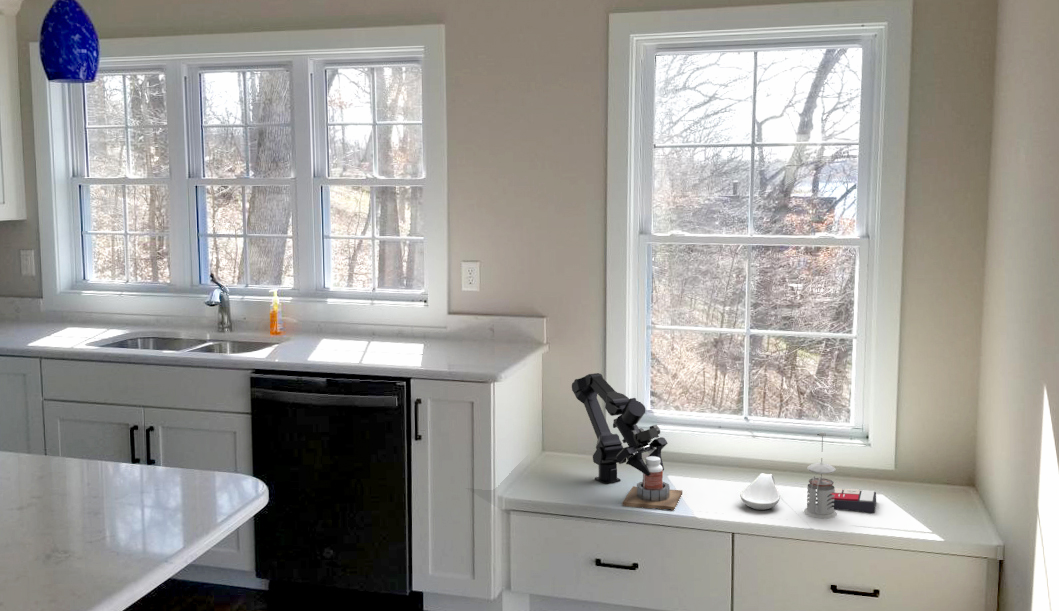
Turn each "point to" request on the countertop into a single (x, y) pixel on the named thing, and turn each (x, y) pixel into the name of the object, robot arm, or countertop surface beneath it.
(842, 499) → the black box
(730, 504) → the countertop surface
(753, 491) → the spoon rest
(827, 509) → the french press
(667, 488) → the collar
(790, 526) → the countertop surface
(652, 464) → the pill bottle
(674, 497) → the socket plate
